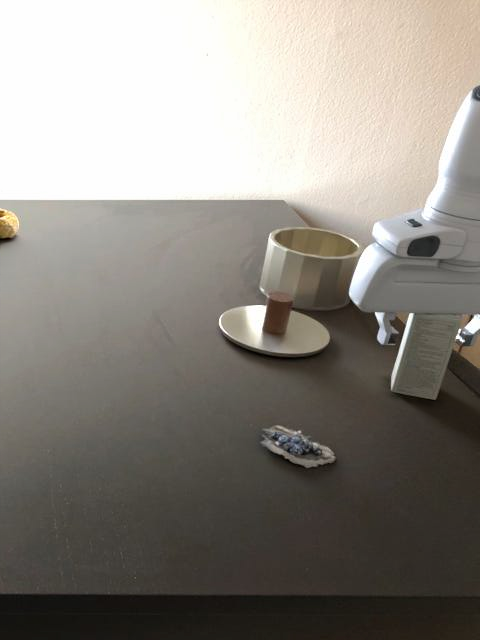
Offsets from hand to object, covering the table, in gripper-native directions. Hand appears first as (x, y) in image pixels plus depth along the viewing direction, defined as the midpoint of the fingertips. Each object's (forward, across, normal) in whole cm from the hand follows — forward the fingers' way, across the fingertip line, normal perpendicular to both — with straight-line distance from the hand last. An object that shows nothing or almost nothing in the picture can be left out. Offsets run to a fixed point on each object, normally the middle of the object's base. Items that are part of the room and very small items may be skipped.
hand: (424, 343), depth 89 cm
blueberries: (+7, +19, +13) cm, 24 cm away
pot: (+6, +3, -29) cm, 30 cm away
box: (+6, 0, 0) cm, 7 cm away
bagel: (+7, +53, -55) cm, 76 cm away
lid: (+6, +13, -14) cm, 20 cm away
